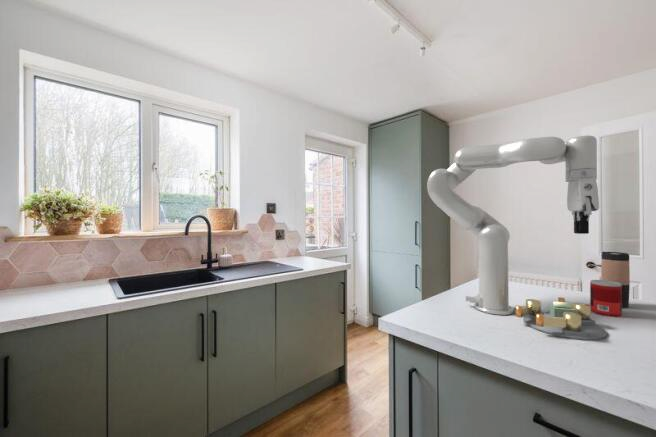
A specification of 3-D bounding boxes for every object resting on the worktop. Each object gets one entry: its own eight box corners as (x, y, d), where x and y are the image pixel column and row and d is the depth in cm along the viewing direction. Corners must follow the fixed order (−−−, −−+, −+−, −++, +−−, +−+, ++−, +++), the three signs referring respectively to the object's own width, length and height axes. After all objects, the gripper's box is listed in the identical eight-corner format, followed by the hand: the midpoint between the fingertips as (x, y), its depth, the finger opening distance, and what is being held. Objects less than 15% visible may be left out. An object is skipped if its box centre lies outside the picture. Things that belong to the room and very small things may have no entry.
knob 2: (574, 325, 84) (574, 312, 84) (585, 331, 80) (585, 316, 80) (532, 324, 86) (532, 310, 86) (540, 329, 82) (540, 315, 82)
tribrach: (533, 334, 84) (533, 308, 84) (516, 312, 102) (516, 291, 102) (622, 344, 76) (622, 316, 76) (586, 318, 95) (586, 296, 95)
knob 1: (529, 310, 98) (529, 298, 98) (543, 313, 94) (543, 301, 94) (511, 316, 92) (510, 304, 92) (524, 320, 89) (524, 307, 89)
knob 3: (593, 319, 88) (593, 306, 88) (580, 319, 89) (580, 306, 89) (565, 307, 100) (565, 296, 100) (553, 307, 100) (553, 296, 100)
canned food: (628, 317, 96) (628, 285, 96) (600, 316, 97) (600, 284, 97) (610, 310, 103) (610, 280, 103) (585, 309, 105) (585, 279, 105)
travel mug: (595, 302, 113) (595, 251, 112) (615, 302, 112) (615, 251, 112) (614, 308, 105) (614, 254, 105) (635, 308, 105) (635, 254, 104)
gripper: (608, 172, 82) (609, 235, 83) (584, 178, 96) (585, 232, 96) (576, 173, 85) (576, 235, 85) (557, 179, 99) (558, 232, 99)
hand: (581, 233), depth 91 cm, fingers closed
